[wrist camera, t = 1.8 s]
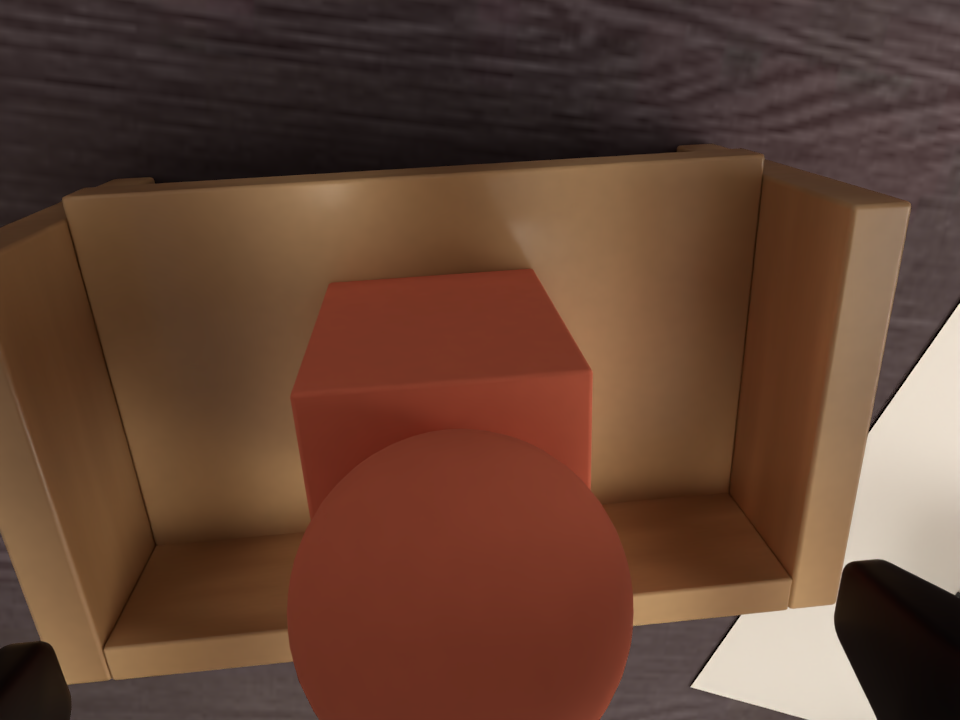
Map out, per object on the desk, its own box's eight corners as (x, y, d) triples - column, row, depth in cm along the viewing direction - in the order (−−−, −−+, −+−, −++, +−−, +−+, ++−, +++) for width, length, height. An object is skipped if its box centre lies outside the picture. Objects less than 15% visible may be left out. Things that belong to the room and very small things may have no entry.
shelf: (181, 462, 21) (56, 688, 13) (108, 162, 17) (-112, 240, 10) (691, 418, 22) (837, 605, 14) (715, 126, 18) (920, 174, 11)
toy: (351, 461, 15) (291, 906, 7) (327, 281, 14) (215, 599, 6) (536, 445, 16) (673, 858, 8) (533, 267, 14) (701, 550, 6)
